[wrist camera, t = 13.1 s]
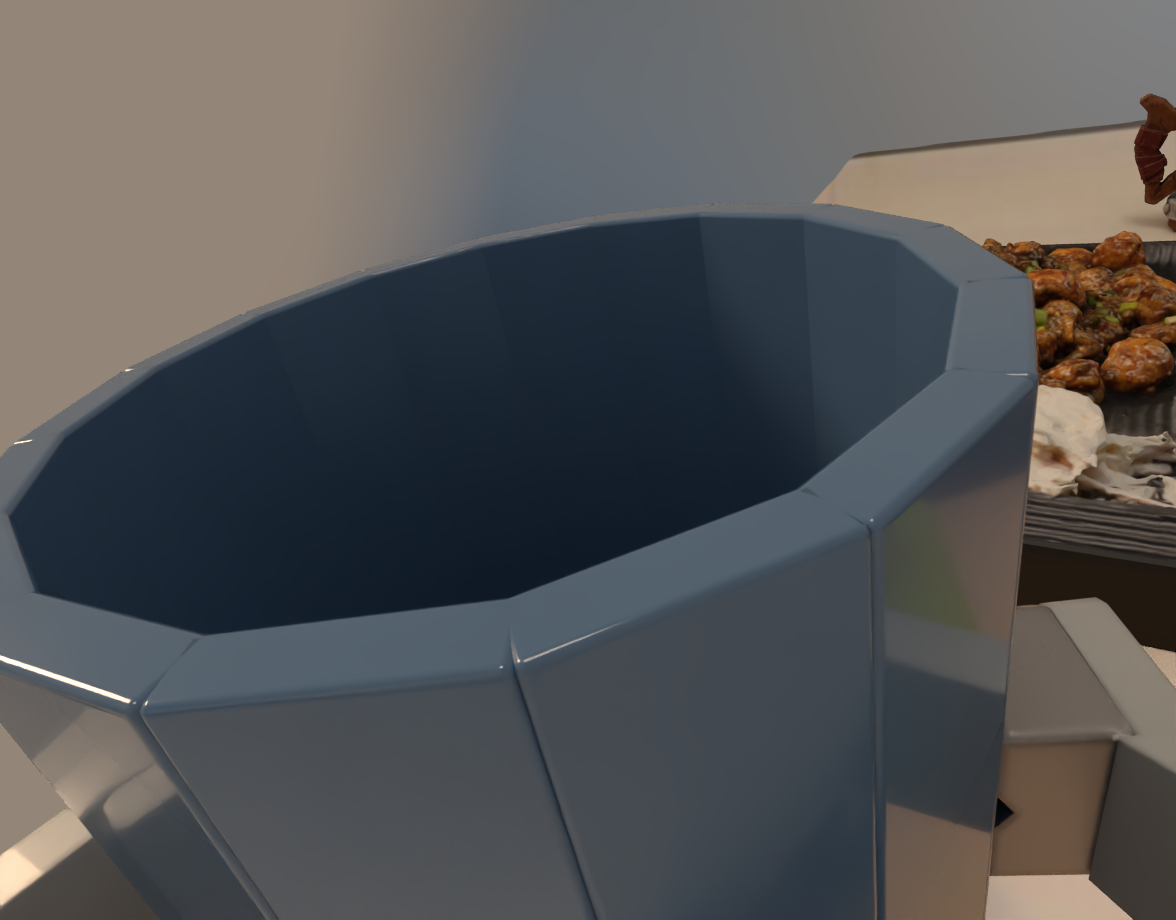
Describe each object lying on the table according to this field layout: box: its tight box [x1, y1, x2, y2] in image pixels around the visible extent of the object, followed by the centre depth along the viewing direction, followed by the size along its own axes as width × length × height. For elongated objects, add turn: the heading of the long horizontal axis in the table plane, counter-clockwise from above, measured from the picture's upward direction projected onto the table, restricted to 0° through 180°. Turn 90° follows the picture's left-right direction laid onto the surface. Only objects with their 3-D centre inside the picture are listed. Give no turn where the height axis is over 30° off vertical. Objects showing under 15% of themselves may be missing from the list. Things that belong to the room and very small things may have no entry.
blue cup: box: [0, 203, 1039, 920], centre depth 8 cm, size 7×7×10 cm
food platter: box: [982, 231, 1176, 651], centre depth 52 cm, size 45×25×10 cm, turn 147°
